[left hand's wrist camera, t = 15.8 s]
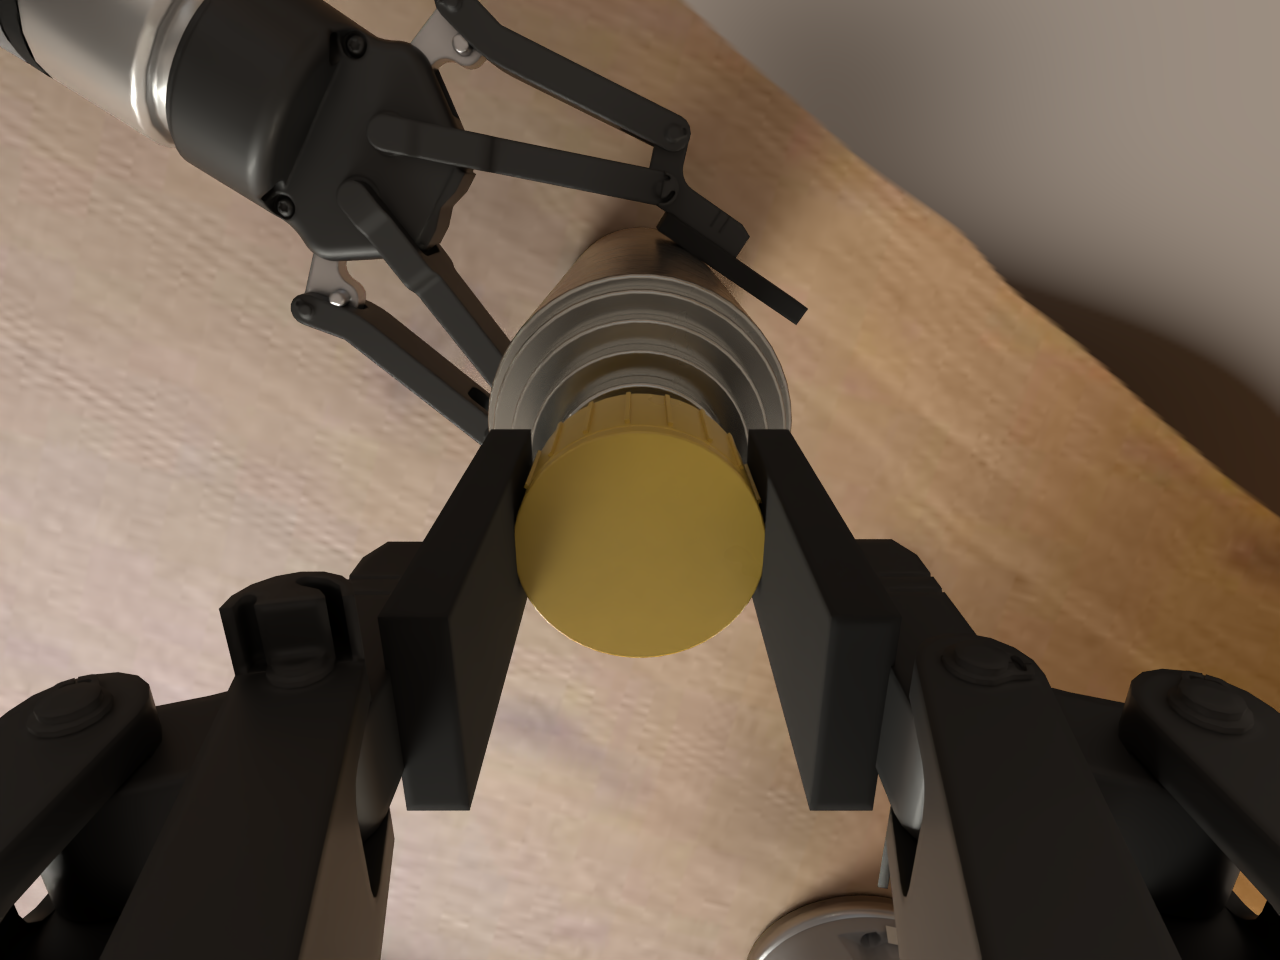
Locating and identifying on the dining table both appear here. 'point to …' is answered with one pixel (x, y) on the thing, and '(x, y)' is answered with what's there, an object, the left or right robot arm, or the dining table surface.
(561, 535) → the cap
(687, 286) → the bottle
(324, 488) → the dining table surface
